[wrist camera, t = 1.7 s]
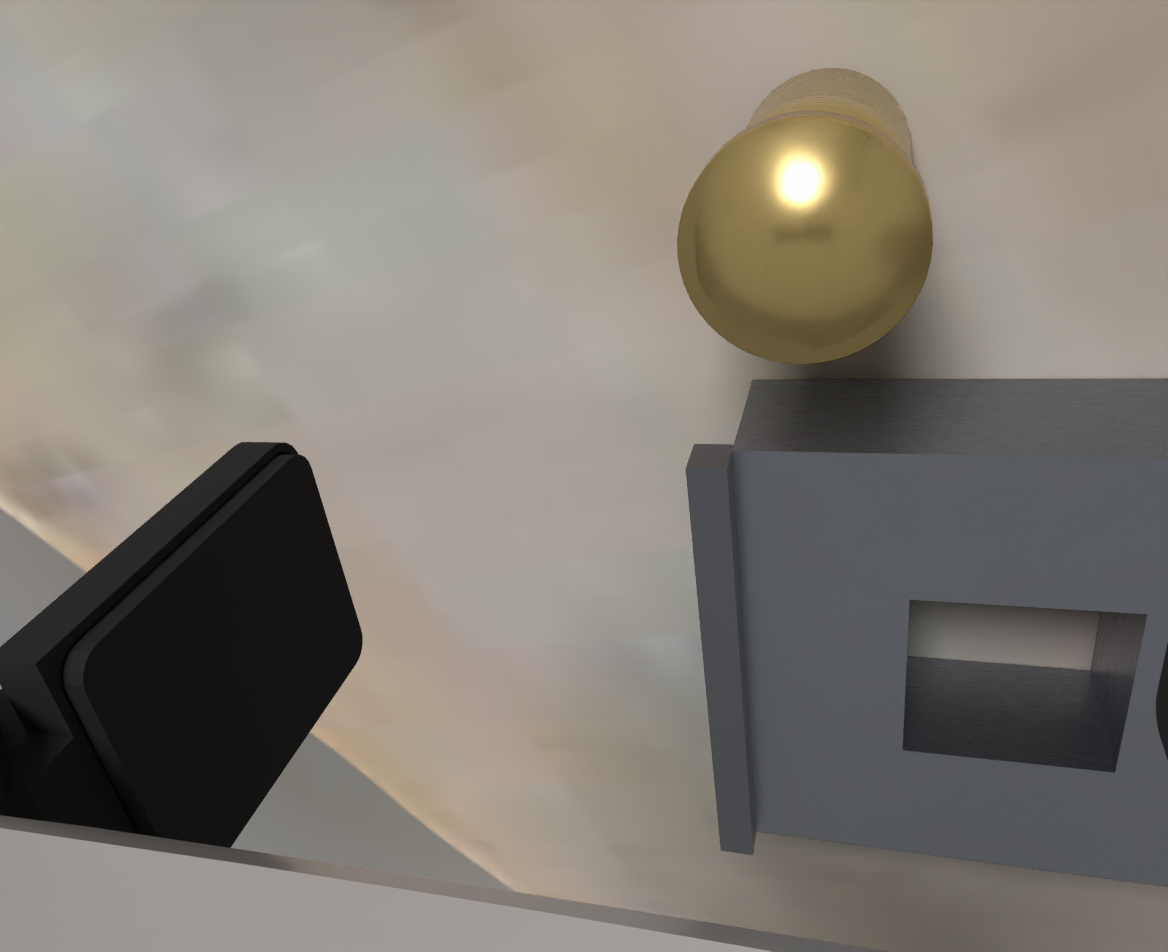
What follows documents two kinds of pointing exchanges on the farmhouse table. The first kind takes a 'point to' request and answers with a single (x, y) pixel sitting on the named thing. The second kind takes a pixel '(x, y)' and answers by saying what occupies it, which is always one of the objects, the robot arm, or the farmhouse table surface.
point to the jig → (945, 574)
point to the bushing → (809, 223)
